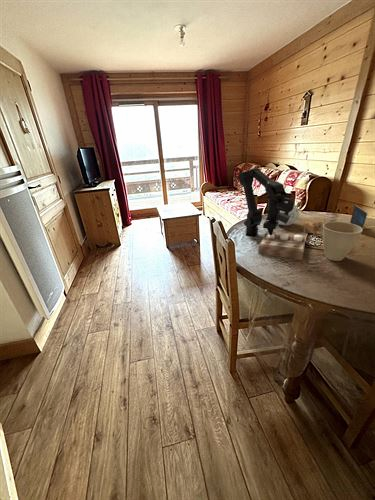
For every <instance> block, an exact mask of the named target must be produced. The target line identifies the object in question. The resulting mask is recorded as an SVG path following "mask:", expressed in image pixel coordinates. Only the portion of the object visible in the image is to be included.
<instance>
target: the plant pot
mask: <svg viewBox="0 0 375 500" xmlns="http://www.w3.org/2000/svg"><path fill="white" fill-rule="evenodd" d="M361 232H362V233H363V230H362V228H361V227H359V226H357V225H355V224H351V223H350V222H344V221H327V222H325V223H324V224H323V230H322V247H323V253H324V256H325V258H326V259H327V260H329V261H335V262H339V261H340V262H341V261H342V260H344V259H345V258H346V256H347V255H348V254H349V253H350V251H351V250H352V249H353V248H354V246H355V245H356V243H357V241H358V239H359V237H360V236H361V235H362V233H361Z"/></svg>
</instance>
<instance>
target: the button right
mask: <svg viewBox="0 0 375 500" xmlns="http://www.w3.org/2000/svg"><path fill="white" fill-rule="evenodd" d="M302 235H303V234H302ZM302 235H294V239H293V241H297V242H302V241H303V236H302Z"/></svg>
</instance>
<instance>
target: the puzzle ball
mask: <svg viewBox="0 0 375 500" xmlns="http://www.w3.org/2000/svg"><path fill="white" fill-rule="evenodd" d="M299 211H300V210H299V208H298V207H297V205H295V204H294V207H293V210H292V211H291V212H289V215H290V219H289V220H288V222H287V224H285V223H284V222H281V221H279V220H278V221H276V222H279V223H278V225H281V226H286V227H287V226H290V225H293V224H294V223H296V222H297V220H298V219H299V216H300V213H299ZM280 212H281V213H284V212H283V211H280Z"/></svg>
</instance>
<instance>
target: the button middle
mask: <svg viewBox="0 0 375 500" xmlns="http://www.w3.org/2000/svg"><path fill="white" fill-rule="evenodd" d="M287 233H288V232H284V233H281V234H280V239H281V240H288V237H289V234H287Z"/></svg>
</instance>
